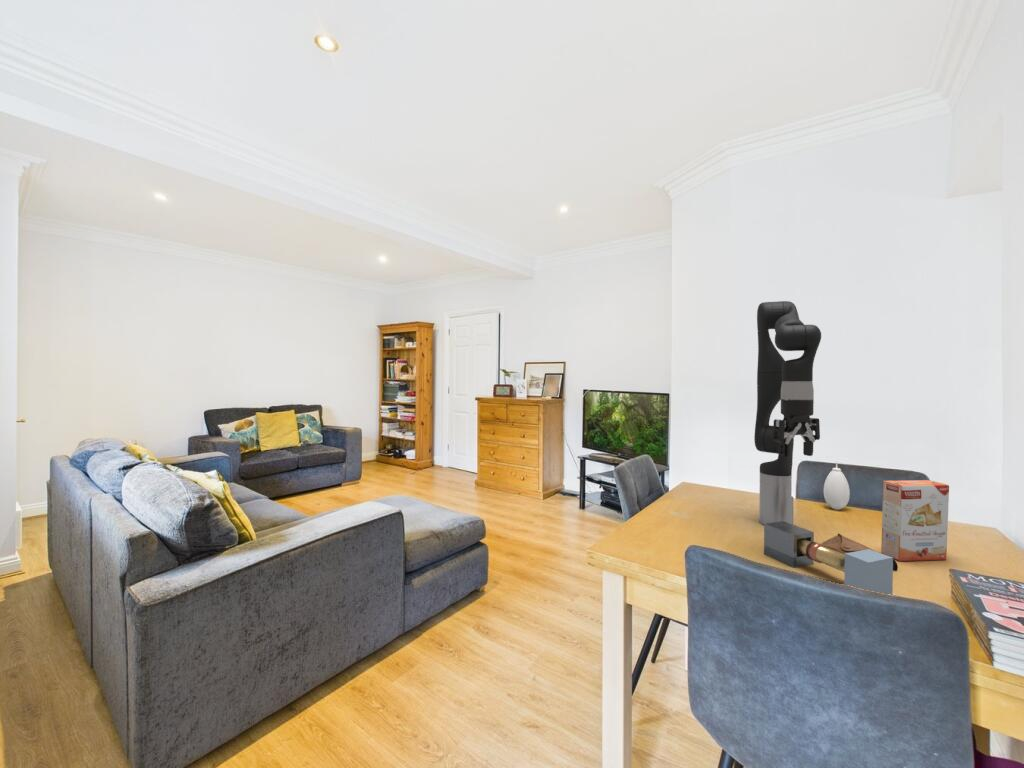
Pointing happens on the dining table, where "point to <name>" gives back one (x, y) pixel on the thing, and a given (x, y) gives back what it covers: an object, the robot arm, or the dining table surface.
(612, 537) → the dining table surface
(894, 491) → the cracker box
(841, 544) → the sunglasses case
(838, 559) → the rod
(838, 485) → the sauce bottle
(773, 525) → the sleeve
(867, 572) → the socket
